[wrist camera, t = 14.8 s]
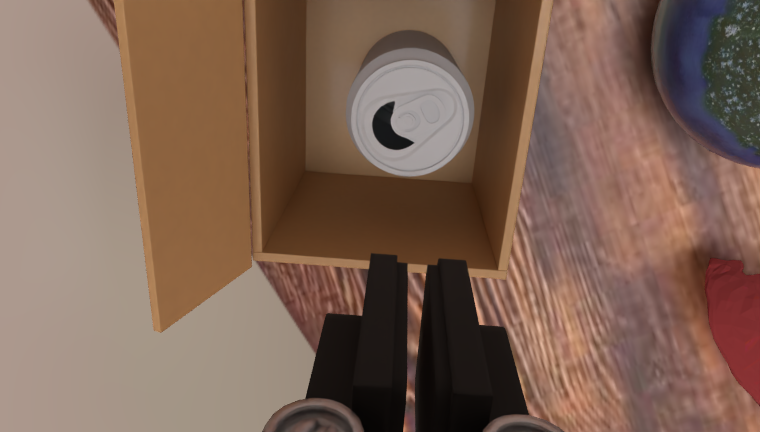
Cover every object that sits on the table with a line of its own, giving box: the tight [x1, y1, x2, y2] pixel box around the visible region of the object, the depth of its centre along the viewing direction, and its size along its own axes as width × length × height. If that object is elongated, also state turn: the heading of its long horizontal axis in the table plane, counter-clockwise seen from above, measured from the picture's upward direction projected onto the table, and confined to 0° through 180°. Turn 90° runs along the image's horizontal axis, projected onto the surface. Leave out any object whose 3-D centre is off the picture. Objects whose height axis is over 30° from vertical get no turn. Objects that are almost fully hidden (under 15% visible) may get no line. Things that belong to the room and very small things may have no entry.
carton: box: [244, 0, 554, 279], centre depth 32 cm, size 13×15×14 cm
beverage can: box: [346, 30, 474, 176], centre depth 32 cm, size 6×6×12 cm
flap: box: [114, 0, 252, 333], centre depth 22 cm, size 6×15×1 cm
